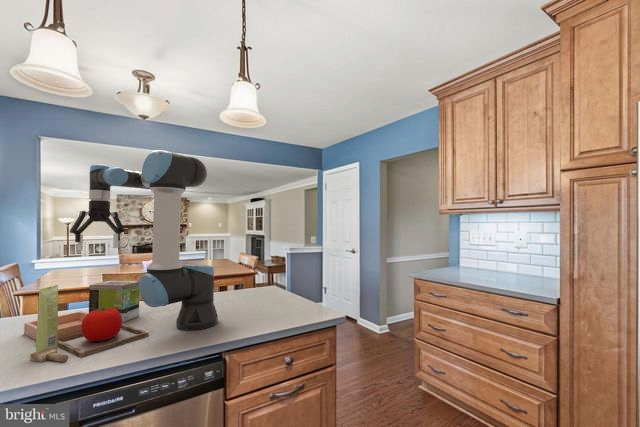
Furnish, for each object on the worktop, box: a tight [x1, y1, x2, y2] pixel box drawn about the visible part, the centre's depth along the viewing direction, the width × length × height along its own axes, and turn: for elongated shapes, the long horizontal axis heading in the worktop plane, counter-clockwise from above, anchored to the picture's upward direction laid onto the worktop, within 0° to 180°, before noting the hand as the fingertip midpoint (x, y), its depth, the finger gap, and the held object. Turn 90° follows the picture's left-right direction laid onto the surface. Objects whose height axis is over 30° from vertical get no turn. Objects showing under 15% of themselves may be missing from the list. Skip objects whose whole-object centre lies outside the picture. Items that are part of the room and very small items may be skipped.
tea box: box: [88, 280, 140, 323], centre depth 126 cm, size 15×10×15 cm, turn 84°
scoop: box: [29, 348, 69, 363], centre depth 88 cm, size 10×4×2 cm, turn 75°
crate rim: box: [57, 323, 149, 358], centre depth 103 cm, size 20×20×1 cm
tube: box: [35, 284, 59, 352], centre depth 94 cm, size 6×5×20 cm
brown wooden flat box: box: [23, 311, 89, 341], centre depth 110 cm, size 18×17×4 cm
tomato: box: [81, 307, 123, 342], centre depth 103 cm, size 11×12×10 cm
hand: (98, 249), depth 133 cm, fingers open, 13 cm apart
